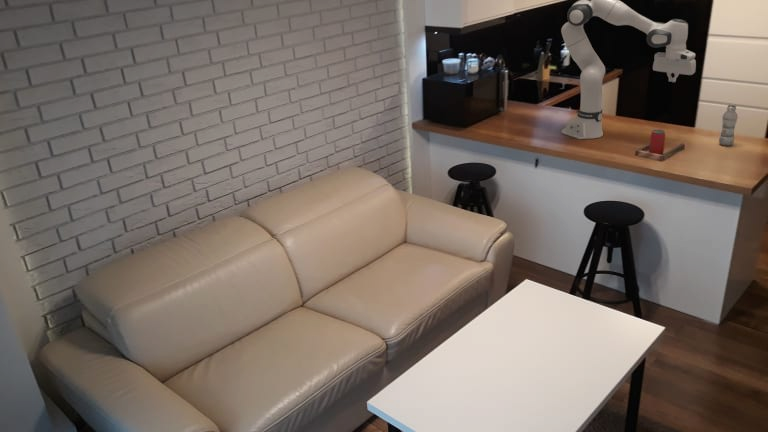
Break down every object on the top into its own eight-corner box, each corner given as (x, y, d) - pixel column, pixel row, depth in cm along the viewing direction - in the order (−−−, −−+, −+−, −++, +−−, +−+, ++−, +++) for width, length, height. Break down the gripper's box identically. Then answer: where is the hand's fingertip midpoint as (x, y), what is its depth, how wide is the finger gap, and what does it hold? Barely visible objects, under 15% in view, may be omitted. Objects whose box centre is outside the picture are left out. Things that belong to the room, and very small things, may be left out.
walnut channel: (635, 155, 305) (635, 150, 304) (657, 143, 317) (658, 138, 315) (662, 161, 295) (662, 156, 294) (684, 148, 307) (684, 143, 305)
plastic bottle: (734, 147, 302) (740, 108, 293) (718, 146, 304) (724, 108, 296) (732, 142, 307) (738, 104, 299) (717, 142, 310) (723, 104, 301)
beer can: (664, 156, 300) (666, 133, 295) (649, 156, 301) (652, 133, 296) (662, 151, 306) (664, 129, 300) (647, 151, 307) (650, 129, 302)
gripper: (651, 52, 305) (649, 80, 311) (692, 56, 290) (688, 85, 297) (658, 50, 309) (655, 77, 315) (699, 54, 294) (695, 82, 300)
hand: (672, 81), depth 305 cm, fingers closed
